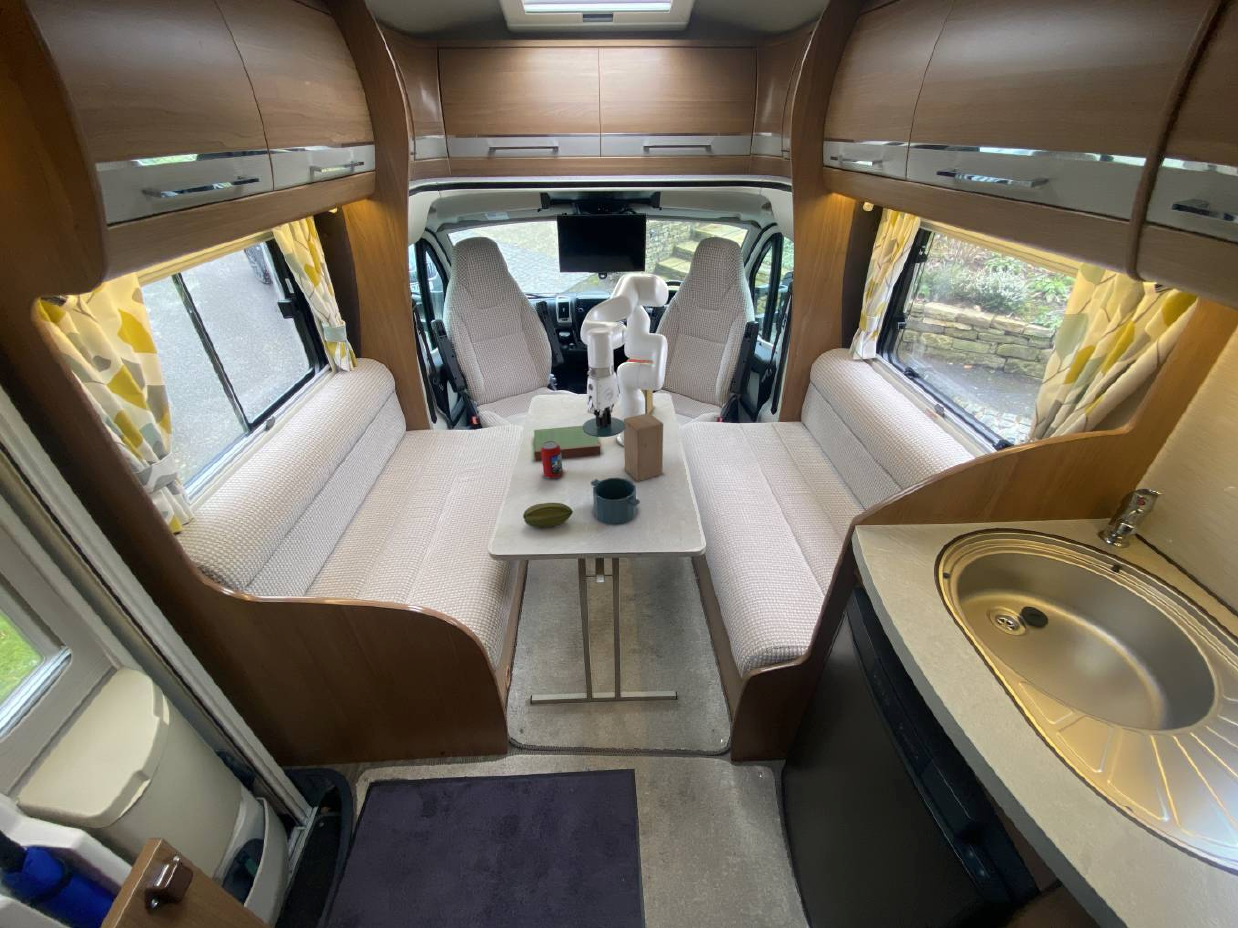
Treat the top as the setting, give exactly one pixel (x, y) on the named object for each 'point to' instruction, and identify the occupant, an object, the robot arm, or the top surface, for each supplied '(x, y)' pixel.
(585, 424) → the pot lid
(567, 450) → the book
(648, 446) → the wooden block
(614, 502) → the pot
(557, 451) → the beverage can
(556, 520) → the fruit
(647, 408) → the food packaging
